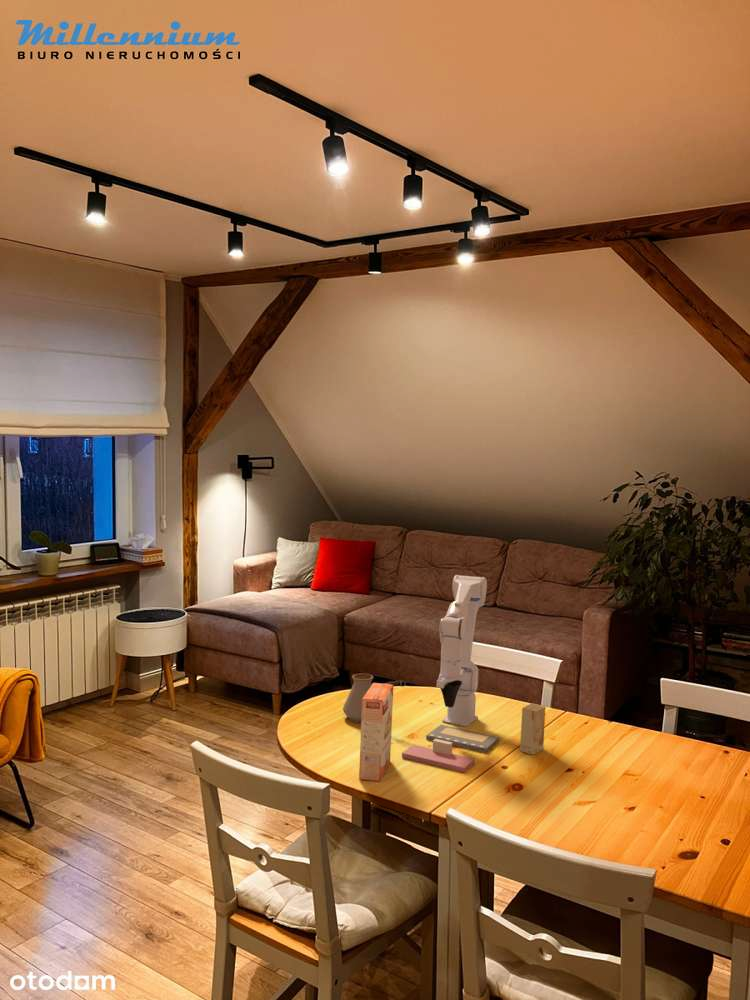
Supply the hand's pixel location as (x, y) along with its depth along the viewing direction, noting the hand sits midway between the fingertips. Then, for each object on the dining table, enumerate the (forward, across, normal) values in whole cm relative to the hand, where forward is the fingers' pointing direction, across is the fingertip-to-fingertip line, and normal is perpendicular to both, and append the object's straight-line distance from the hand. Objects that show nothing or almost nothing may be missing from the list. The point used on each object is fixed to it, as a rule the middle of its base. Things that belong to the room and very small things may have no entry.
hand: (449, 706), depth 232 cm
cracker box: (+10, -30, +7) cm, 32 cm away
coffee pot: (+10, 0, +24) cm, 26 cm away
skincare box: (+10, +5, -23) cm, 25 cm away
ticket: (+9, +1, -4) cm, 10 cm away
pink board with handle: (+9, -16, -4) cm, 19 cm away
